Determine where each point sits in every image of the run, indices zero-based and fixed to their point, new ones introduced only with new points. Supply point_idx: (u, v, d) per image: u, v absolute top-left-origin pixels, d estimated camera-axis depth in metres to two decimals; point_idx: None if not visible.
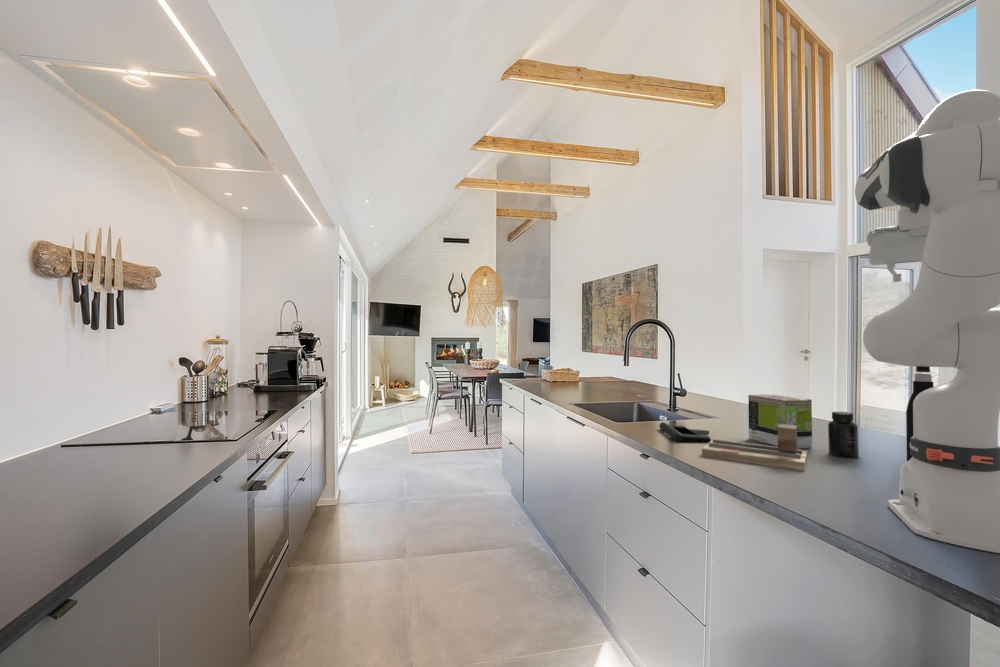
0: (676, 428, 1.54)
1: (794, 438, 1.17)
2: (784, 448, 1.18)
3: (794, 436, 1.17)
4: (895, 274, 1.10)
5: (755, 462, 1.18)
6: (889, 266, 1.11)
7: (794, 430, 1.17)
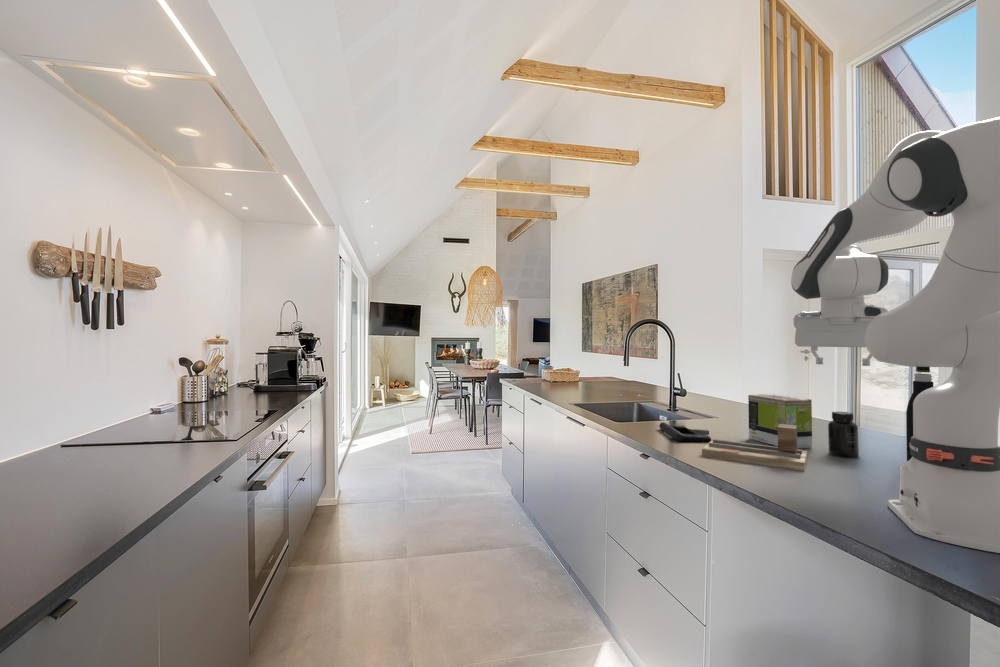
0: (676, 428, 1.54)
1: (794, 438, 1.17)
2: (784, 448, 1.18)
3: (794, 436, 1.17)
4: (817, 357, 1.16)
5: (755, 462, 1.18)
6: (812, 349, 1.17)
7: (794, 430, 1.17)
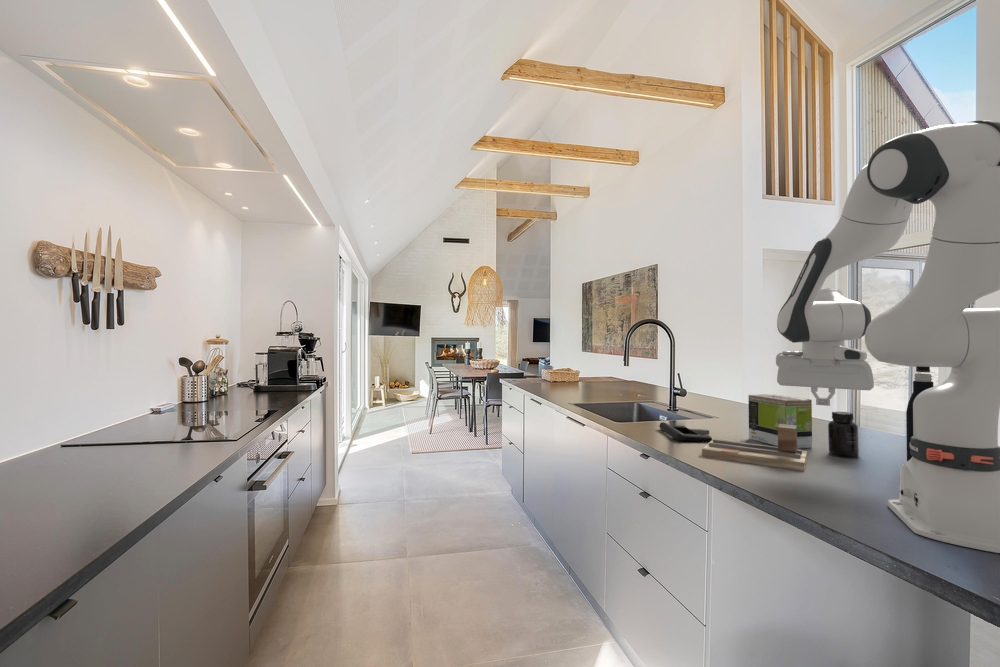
0: (676, 428, 1.54)
1: (794, 438, 1.17)
2: (784, 448, 1.18)
3: (794, 436, 1.17)
4: (817, 398, 1.15)
5: (755, 462, 1.18)
6: (812, 390, 1.16)
7: (794, 430, 1.17)
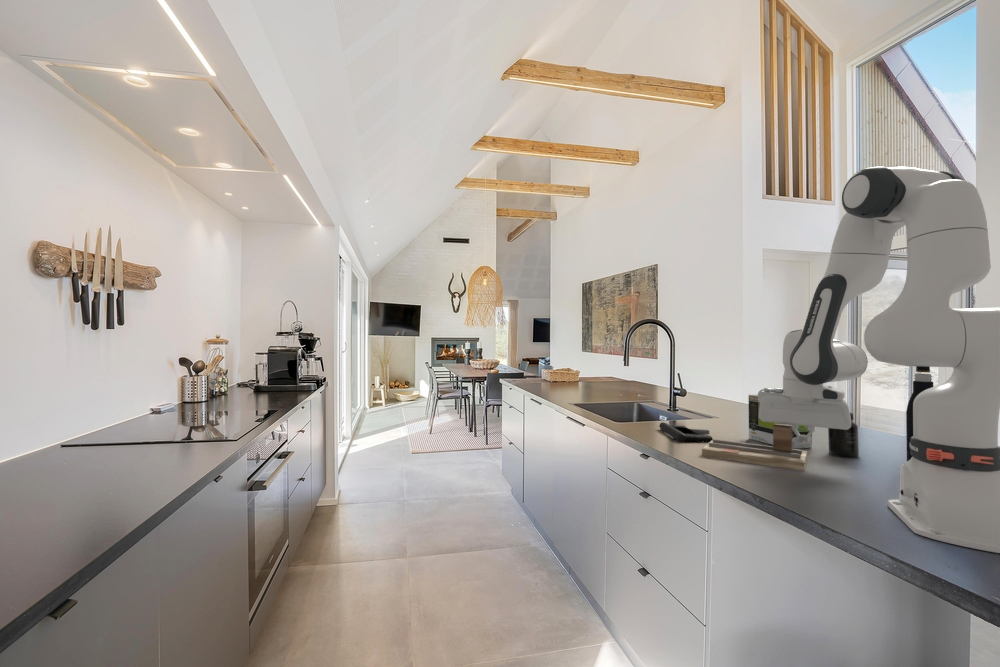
0: (677, 428, 1.54)
1: (789, 437, 1.17)
2: (779, 447, 1.19)
3: (789, 435, 1.17)
4: (798, 435, 1.18)
5: (755, 462, 1.18)
6: (793, 427, 1.18)
7: (789, 429, 1.17)
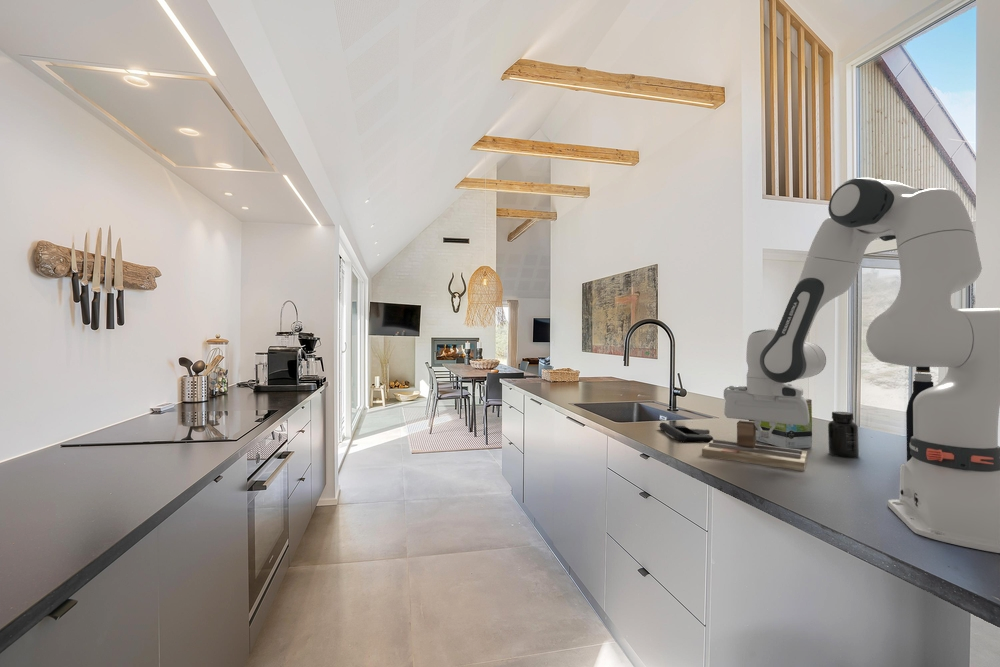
0: (677, 428, 1.54)
1: (752, 433, 1.23)
2: (743, 443, 1.24)
3: (752, 431, 1.23)
4: (760, 431, 1.23)
5: (755, 462, 1.18)
6: (755, 423, 1.24)
7: (752, 426, 1.23)
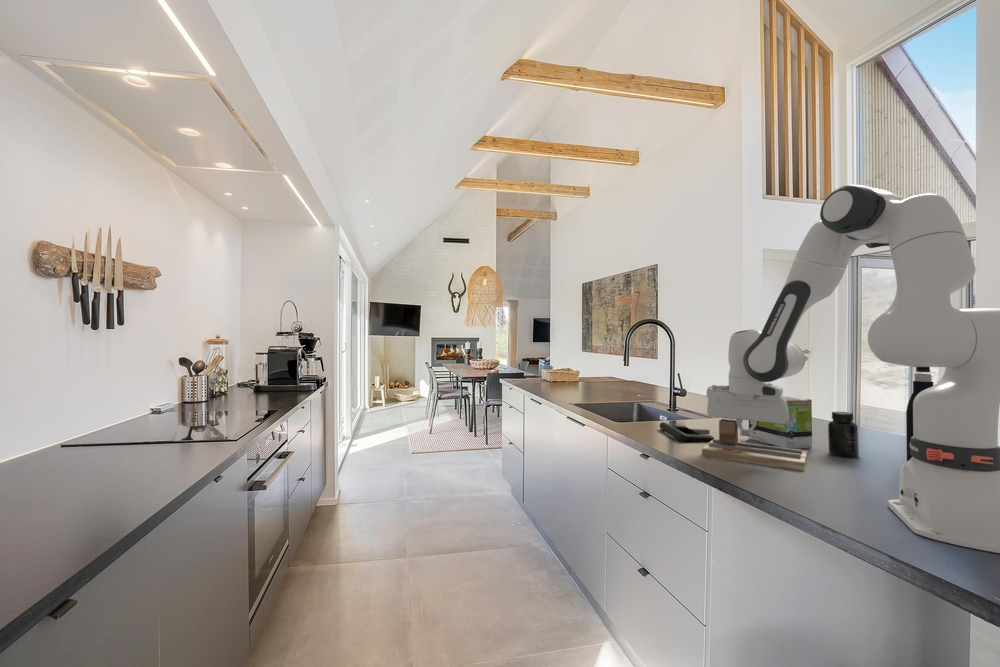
0: (677, 428, 1.54)
1: (733, 431, 1.25)
2: (724, 441, 1.27)
3: (733, 429, 1.25)
4: (741, 429, 1.26)
5: (755, 462, 1.18)
6: (737, 422, 1.26)
7: (733, 424, 1.25)
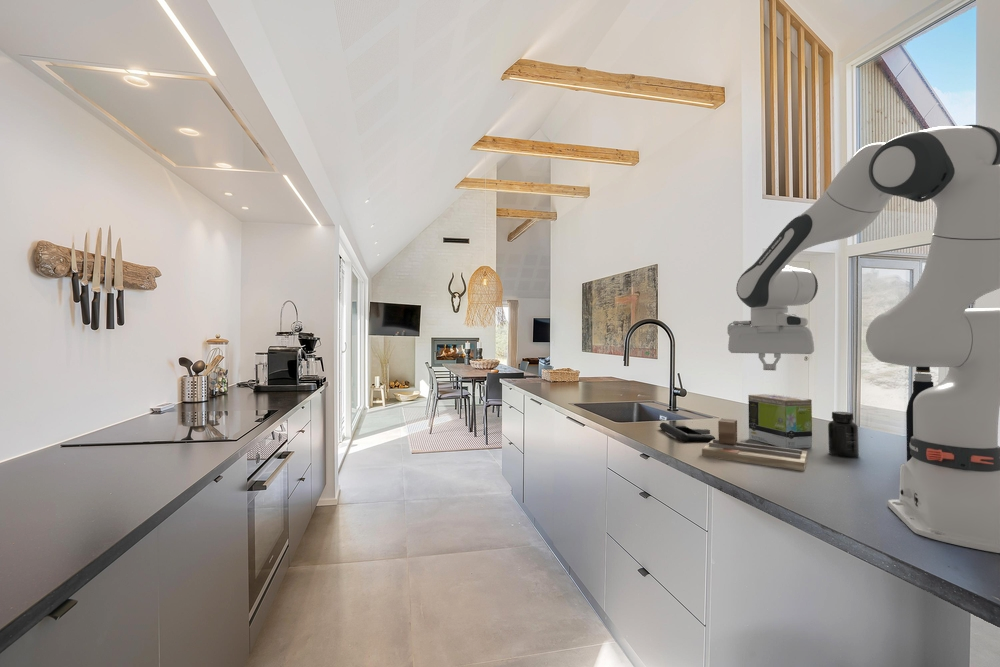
0: (678, 428, 1.54)
1: (732, 431, 1.26)
2: (724, 440, 1.27)
3: (732, 429, 1.26)
4: (764, 364, 1.23)
5: (755, 462, 1.18)
6: (759, 356, 1.23)
7: (732, 424, 1.26)
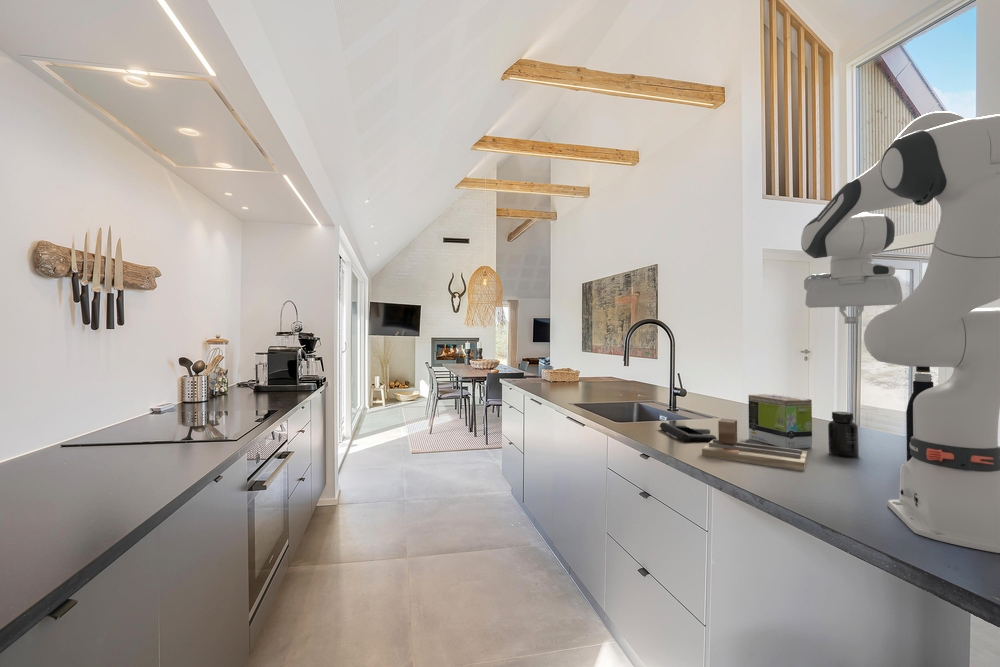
0: (679, 428, 1.54)
1: (732, 431, 1.26)
2: (724, 440, 1.27)
3: (732, 429, 1.26)
4: (846, 317, 1.19)
5: (755, 462, 1.18)
6: (841, 309, 1.19)
7: (732, 424, 1.26)
